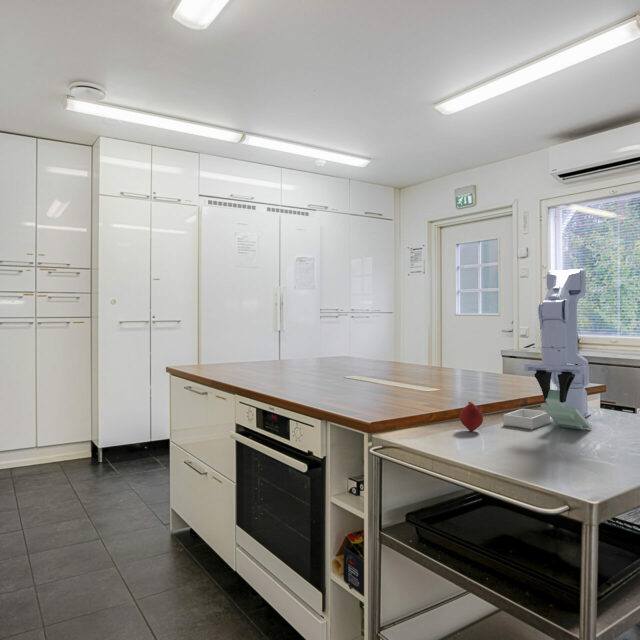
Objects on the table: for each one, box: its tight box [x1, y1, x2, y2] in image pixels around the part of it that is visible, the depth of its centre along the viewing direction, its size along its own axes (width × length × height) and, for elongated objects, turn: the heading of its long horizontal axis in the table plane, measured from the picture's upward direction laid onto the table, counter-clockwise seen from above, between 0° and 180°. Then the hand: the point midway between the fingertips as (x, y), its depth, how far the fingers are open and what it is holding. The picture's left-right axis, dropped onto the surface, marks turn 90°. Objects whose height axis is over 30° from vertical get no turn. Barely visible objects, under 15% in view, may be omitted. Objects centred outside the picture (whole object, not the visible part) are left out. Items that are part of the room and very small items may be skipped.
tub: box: [502, 408, 551, 431], centre depth 138 cm, size 12×8×3 cm, turn 134°
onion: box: [459, 400, 484, 432], centre depth 130 cm, size 6×6×8 cm
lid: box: [540, 388, 592, 431], centre depth 128 cm, size 17×9×4 cm, turn 133°
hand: (555, 401), depth 124 cm, fingers closed on lid, 3 cm apart
